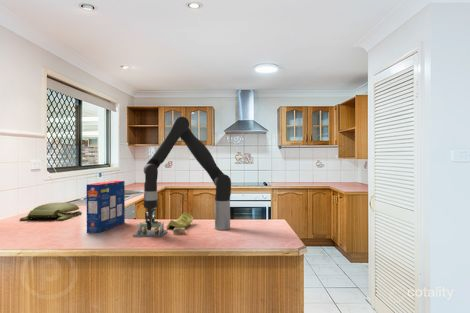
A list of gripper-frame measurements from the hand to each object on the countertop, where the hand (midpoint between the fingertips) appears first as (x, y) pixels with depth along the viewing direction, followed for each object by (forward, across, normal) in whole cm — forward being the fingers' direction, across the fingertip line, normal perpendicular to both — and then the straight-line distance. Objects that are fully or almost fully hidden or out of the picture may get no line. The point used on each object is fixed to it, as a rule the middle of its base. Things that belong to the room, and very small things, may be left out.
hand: (150, 228), depth 184 cm
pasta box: (+3, +17, +32) cm, 36 cm away
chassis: (+3, 0, 0) cm, 3 cm away
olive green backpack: (+4, +53, +85) cm, 100 cm away
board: (-1, 0, 0) cm, 1 cm away
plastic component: (+4, +20, -14) cm, 24 cm away
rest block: (+3, +1, -16) cm, 16 cm away
